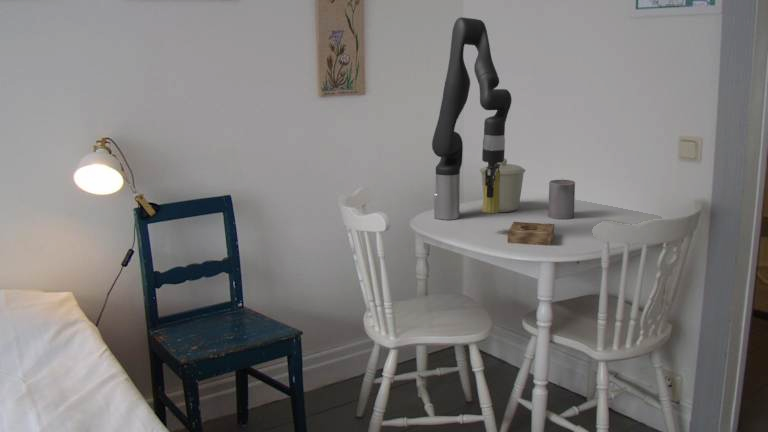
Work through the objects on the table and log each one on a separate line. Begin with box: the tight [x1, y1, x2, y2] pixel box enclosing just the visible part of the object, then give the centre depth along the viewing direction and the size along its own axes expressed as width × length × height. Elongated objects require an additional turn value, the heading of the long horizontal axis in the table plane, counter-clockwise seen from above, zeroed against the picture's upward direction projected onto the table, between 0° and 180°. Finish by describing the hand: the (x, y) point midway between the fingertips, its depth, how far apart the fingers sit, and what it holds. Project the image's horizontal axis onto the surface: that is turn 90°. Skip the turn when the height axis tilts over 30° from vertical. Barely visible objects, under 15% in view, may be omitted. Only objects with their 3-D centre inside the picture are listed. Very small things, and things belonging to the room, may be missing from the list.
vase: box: [481, 171, 500, 214], centre depth 257 cm, size 6×6×14 cm
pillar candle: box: [547, 178, 576, 220], centre depth 282 cm, size 10×10×15 cm
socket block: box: [507, 221, 555, 246], centre depth 251 cm, size 14×14×4 cm
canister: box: [479, 157, 526, 213], centre depth 295 cm, size 18×18×21 cm
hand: (491, 195), depth 258 cm, fingers closed on vase, 5 cm apart
